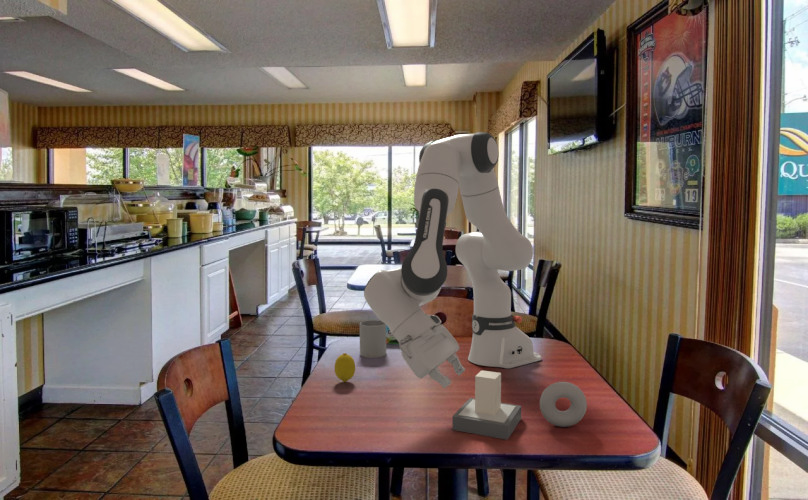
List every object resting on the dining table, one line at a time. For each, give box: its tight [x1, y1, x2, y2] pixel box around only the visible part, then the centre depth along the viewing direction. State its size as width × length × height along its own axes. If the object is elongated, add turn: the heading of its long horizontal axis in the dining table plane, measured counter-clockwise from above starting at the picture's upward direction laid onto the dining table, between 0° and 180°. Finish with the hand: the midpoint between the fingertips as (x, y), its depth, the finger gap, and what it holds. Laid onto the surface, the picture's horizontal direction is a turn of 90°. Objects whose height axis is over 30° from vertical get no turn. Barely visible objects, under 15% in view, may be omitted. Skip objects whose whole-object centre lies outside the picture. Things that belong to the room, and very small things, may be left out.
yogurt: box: [386, 325, 399, 345], centre depth 190 cm, size 12×2×6 cm, turn 81°
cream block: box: [474, 370, 502, 415], centre depth 122 cm, size 4×4×8 cm
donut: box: [539, 381, 588, 428], centre depth 121 cm, size 10×4×10 cm, turn 85°
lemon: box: [334, 352, 356, 383], centre depth 150 cm, size 6×6×8 cm
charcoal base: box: [451, 397, 522, 441], centre depth 123 cm, size 12×12×3 cm
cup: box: [359, 319, 387, 359], centre depth 177 cm, size 8×8×10 cm
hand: (455, 379), depth 125 cm, fingers open, 8 cm apart
